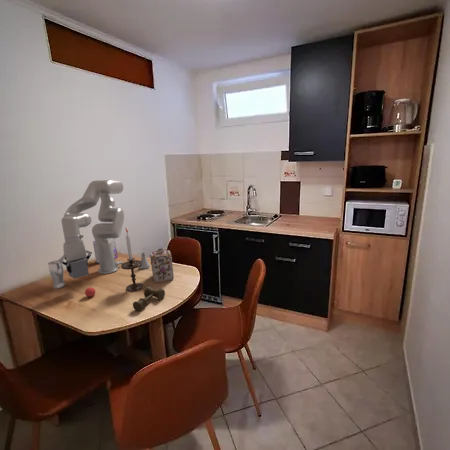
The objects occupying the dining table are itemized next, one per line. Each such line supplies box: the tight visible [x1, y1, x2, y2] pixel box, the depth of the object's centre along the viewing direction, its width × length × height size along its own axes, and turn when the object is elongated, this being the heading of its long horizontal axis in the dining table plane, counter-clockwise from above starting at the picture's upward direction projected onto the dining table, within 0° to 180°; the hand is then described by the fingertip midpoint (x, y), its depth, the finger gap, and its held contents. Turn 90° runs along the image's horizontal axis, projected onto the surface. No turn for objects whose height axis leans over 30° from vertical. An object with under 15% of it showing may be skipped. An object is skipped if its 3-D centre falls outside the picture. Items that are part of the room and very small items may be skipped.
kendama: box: [132, 285, 166, 312], centre depth 137 cm, size 6×10×20 cm
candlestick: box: [120, 227, 144, 293], centre depth 149 cm, size 11×11×35 cm
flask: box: [138, 252, 151, 270], centre depth 182 cm, size 7×7×10 cm
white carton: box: [92, 238, 119, 264], centre depth 197 cm, size 14×6×16 cm, turn 145°
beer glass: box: [47, 259, 66, 290], centre depth 158 cm, size 7×7×15 cm
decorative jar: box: [149, 247, 175, 284], centre depth 163 cm, size 12×12×18 cm
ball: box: [84, 286, 96, 298], centre depth 145 cm, size 5×5×5 cm
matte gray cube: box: [65, 258, 90, 280], centre depth 150 cm, size 8×8×9 cm
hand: (78, 269), depth 151 cm, fingers closed on matte gray cube, 7 cm apart
